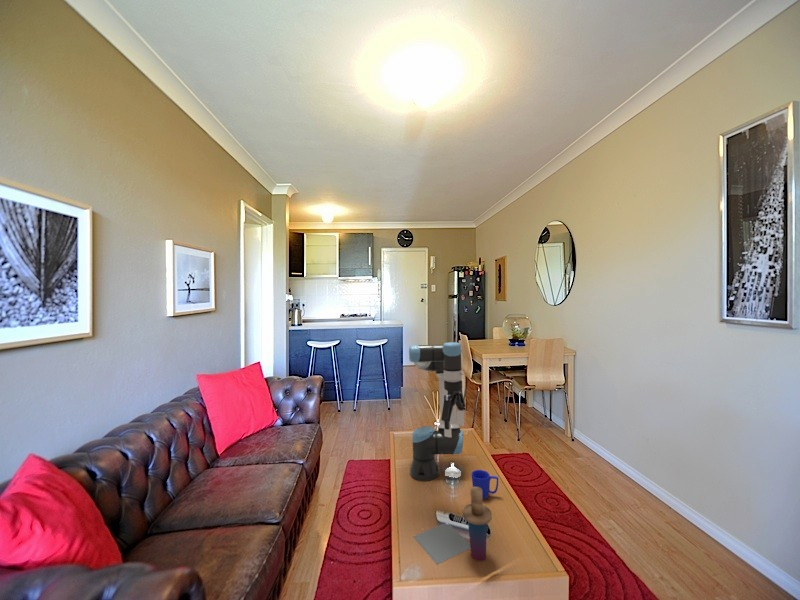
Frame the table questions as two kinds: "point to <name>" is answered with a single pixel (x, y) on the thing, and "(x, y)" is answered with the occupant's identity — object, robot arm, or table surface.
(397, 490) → the table surface
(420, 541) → the mat
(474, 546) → the cup
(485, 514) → the lid
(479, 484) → the mug
